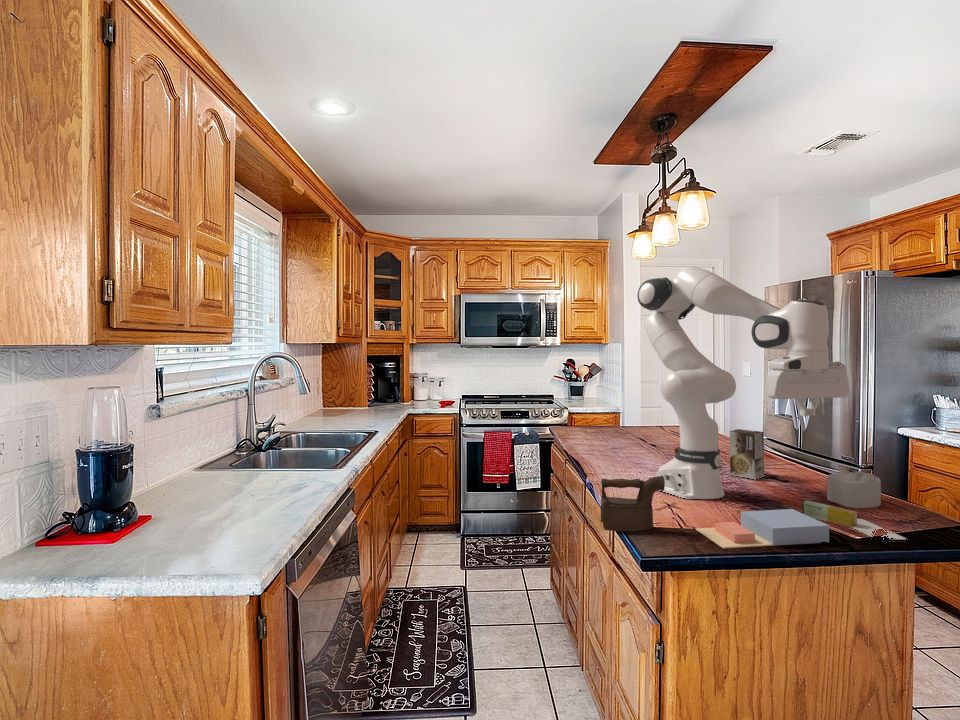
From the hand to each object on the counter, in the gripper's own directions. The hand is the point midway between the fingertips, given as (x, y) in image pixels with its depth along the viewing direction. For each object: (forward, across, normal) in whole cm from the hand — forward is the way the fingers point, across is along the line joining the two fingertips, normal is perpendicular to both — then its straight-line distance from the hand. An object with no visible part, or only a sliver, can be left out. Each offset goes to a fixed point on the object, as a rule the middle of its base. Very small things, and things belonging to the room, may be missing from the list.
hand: (807, 415), depth 129 cm
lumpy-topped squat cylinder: (+28, -26, -14) cm, 41 cm away
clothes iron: (+28, +46, -3) cm, 54 cm away
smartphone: (+28, -12, +6) cm, 31 cm away
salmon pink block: (+26, +24, +7) cm, 36 cm away
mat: (+28, +24, +7) cm, 38 cm away
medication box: (+28, -7, -1) cm, 29 cm away
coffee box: (+29, -12, -45) cm, 55 cm away
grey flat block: (+28, +11, +7) cm, 31 cm away
